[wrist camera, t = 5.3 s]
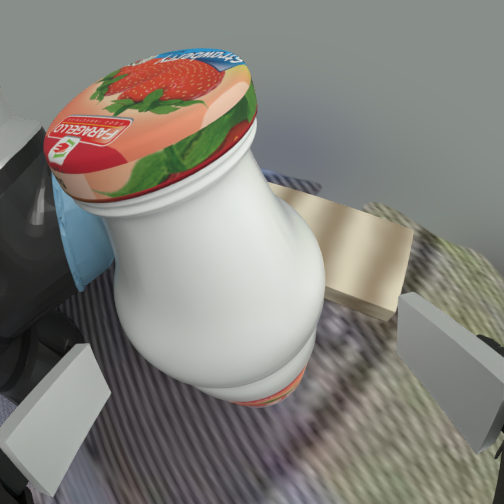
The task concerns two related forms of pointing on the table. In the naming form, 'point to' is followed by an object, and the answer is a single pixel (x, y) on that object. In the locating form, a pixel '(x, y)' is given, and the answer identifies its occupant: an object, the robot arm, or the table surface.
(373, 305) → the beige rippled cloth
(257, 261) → the fruit juice
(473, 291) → the table surface
